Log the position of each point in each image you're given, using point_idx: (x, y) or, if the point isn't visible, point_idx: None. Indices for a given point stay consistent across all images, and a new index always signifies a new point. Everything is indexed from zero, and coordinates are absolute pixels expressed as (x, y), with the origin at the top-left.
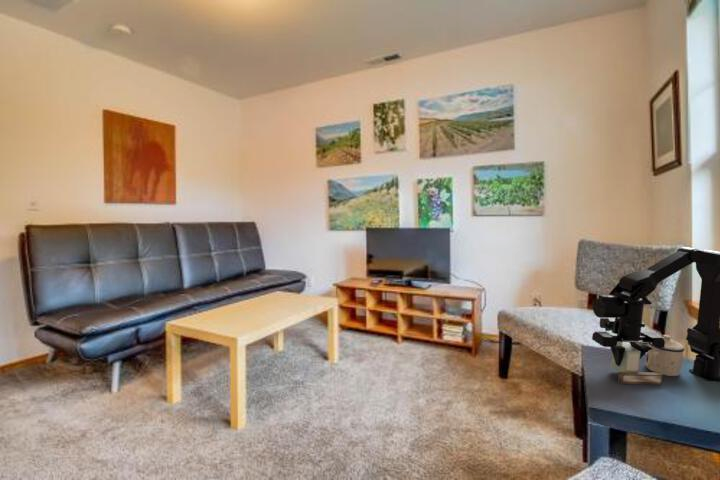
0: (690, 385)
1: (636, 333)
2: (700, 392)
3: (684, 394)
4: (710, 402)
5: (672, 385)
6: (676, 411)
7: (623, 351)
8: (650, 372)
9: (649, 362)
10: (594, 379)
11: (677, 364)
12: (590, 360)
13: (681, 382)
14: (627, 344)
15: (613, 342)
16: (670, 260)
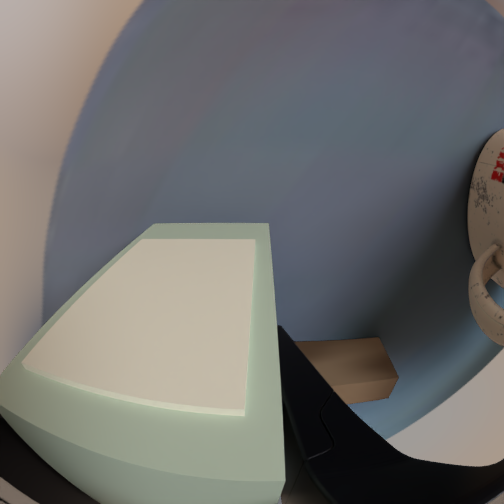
0: (474, 341)
1: None
2: (448, 382)
3: (380, 407)
4: (405, 425)
5: (413, 356)
6: None
7: (93, 499)
8: (348, 384)
9: (498, 202)
10: (51, 307)
11: None
12: (126, 45)
13: (472, 324)
14: (256, 501)
15: None
16: None
